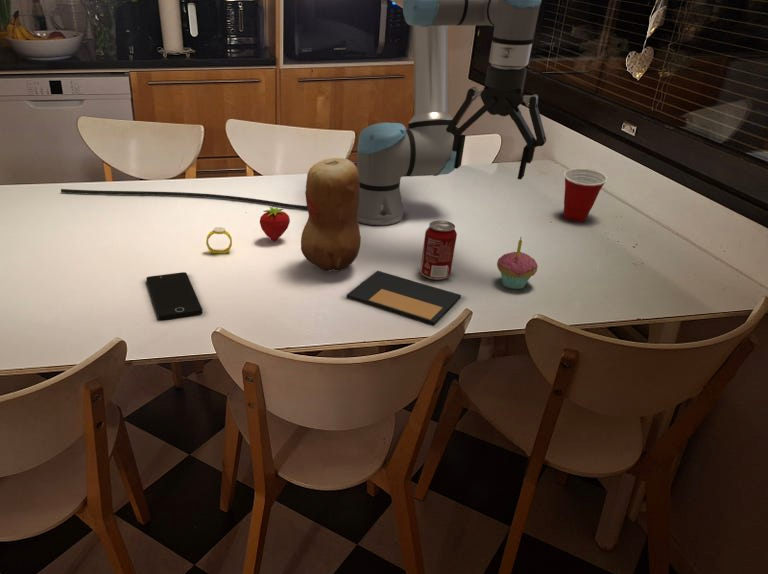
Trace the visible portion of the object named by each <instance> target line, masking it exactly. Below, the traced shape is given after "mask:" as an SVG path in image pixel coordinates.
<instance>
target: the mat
mask: <svg viewBox="0 0 768 574" xmlns="http://www.w3.org/2000/svg"><path fill="white" fill-rule="evenodd" d="M346 299H349V300H352V301H356V302H359V303H362V304H365V305H368V306H372V307H374V308H376V309H377V308H378V309H381V310H384V311H387V312H390V313H393V314H397V315H399V316H402V317H405V318H409V319H412V320H414V321H415V320H416V321H418V322H421V323H425V324H428V325H430V326H435V325H436V324H437V323H438V322H439V321H440V320H441V319H442V318H443V317H444V316H445V315H446V314H447V313H448V312H449V311H450V310H451V309H452V308H453V306H454V305H456V304H457V302H459V301H460V300H461V299H462V294H460V293H456V292H452V291H449V290H446V289H442V288H440V287H439V288H438V287H436V286H432V285H428V284H426V283H425V284H424V283H422V282H419V281H414V280H411V279H408V278H404V277H402V276H398V275H394V274H391V273H387V272H384V271H380V270H376V271H375V272H374V273H372V274H371V275H369V277H367V278H366V279H365V280H363V281H362V282H361V283H360V284H358V285H357V286H356V287H355V288H353V289H352V290H350V291H349V292H348V293H347V294H346Z"/></svg>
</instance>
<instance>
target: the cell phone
mask: <svg viewBox="0 0 768 574" xmlns="http://www.w3.org/2000/svg"><path fill="white" fill-rule="evenodd" d="M146 283H147V287H148V290H149V292H150V294H151V299H152V301H153V305H154V307H155V310H156V314H157V318H158V319H159V320H167V319H175V318H181V317H189V316H196V315H201V314H203V308H202V305H201V302H200V301H199V299H198V296H197V294H196V291H195V290H194V287H193V284H192V283H191V280H190V278H189V275H188V273H187V272H185V271H183V272H172V273H166V274H157V275H151V276H146Z"/></svg>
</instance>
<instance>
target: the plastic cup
mask: <svg viewBox="0 0 768 574" xmlns="http://www.w3.org/2000/svg"><path fill="white" fill-rule="evenodd" d="M563 177H564V194H563V195H564V196H563V218H564V219H566V220H568V221H571V222H577V223H578V222H579V223H581V222H585V221H586V220H587V219H588V216H589V215H590V212H591V210H592V208H593V206H594V204H595V202H596V200H597V198H598V196H599V193H600V191H601V190H602V188H603V187H604V185H605V184H606V183H607V181H608V180H609V179H608V178H609V177H608V176H607V175H606V174H605V173H603V172H601V171H599V170H596V169H591V168H588V167H587V168H585V167H576V168H575V167H574V168H569V169H567V170H565V171H564V172H563Z"/></svg>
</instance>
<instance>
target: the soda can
mask: <svg viewBox="0 0 768 574" xmlns="http://www.w3.org/2000/svg"><path fill="white" fill-rule="evenodd" d="M457 236H458V233H457V231H456V225H455V224H454V223H453V222H451V221H447V220H443V219H442V220H440V219H437V220H433V221H430V222H429V225H428V227H427V228H426V229H425V233H424V239H423V245H422V254H421V262H420V269H419V272H420V274H421V275H422V276H424V277H425V278H426V279H429V280H432V281H440V280H445V279H447V278H449V277H450V276H451V272H452V267H453V262H454V255H455V249H456V242H457Z"/></svg>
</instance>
